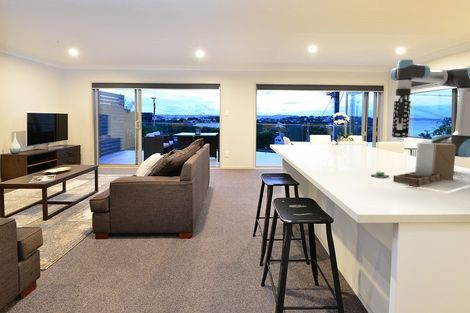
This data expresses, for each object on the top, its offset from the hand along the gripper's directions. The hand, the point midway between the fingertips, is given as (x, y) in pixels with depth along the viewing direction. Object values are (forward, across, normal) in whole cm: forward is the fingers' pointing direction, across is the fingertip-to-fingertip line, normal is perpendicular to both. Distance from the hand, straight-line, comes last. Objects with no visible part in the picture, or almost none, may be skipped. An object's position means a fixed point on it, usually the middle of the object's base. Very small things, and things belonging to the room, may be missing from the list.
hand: (400, 129), depth 198 cm
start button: (+27, +7, -8) cm, 29 cm away
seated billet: (+27, +2, +13) cm, 30 cm away
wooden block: (+28, -10, +21) cm, 36 cm away
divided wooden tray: (+28, +8, +11) cm, 31 cm away
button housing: (+28, +7, -8) cm, 30 cm away
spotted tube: (+5, 0, 0) cm, 5 cm away
